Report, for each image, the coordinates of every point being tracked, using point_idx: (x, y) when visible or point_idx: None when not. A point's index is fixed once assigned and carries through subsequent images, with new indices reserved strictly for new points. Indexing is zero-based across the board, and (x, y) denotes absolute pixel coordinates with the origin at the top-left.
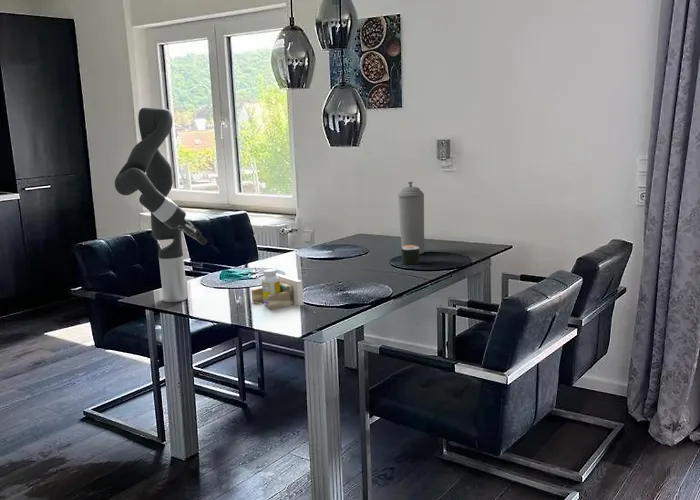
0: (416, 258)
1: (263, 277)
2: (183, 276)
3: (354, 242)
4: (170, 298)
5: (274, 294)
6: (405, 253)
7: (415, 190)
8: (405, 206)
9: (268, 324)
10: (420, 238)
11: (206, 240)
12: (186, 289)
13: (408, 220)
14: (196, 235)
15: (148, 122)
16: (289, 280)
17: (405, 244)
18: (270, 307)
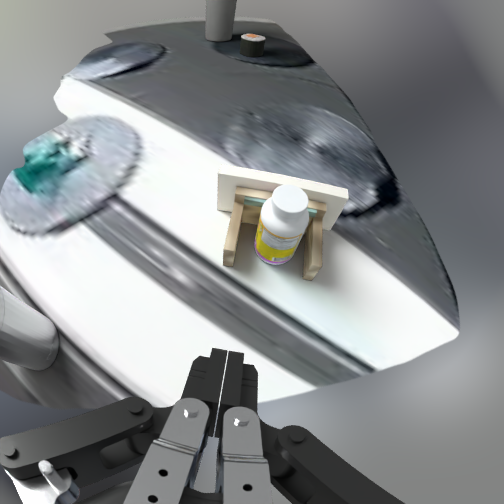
0: (263, 49)
1: (273, 220)
2: (25, 315)
3: (118, 41)
4: (42, 366)
5: (316, 249)
6: (254, 45)
7: None
8: None
9: (395, 345)
10: (233, 23)
11: (255, 369)
12: (42, 316)
13: (226, 6)
14: (292, 473)
15: None
16: (313, 192)
17: (218, 31)
18: (313, 277)
